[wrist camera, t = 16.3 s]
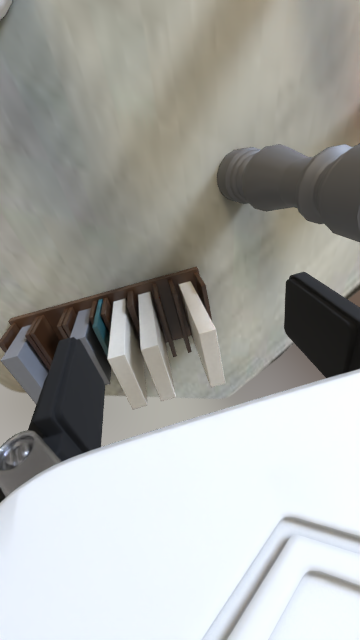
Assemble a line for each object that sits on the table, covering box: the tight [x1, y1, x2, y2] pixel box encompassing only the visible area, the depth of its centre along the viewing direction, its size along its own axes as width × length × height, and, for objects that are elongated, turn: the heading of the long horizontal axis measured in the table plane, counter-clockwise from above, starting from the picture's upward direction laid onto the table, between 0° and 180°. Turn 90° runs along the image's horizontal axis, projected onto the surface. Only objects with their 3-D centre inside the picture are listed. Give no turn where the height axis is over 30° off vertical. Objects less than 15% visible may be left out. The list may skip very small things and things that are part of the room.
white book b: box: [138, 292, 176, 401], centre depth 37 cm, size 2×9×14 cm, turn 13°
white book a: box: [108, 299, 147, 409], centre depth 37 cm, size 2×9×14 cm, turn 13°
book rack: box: [0, 267, 212, 370], centre depth 40 cm, size 30×12×9 cm, turn 103°
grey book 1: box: [1, 325, 49, 405], centre depth 39 cm, size 2×9×8 cm, turn 13°
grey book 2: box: [70, 308, 111, 385], centre depth 39 cm, size 2×9×8 cm, turn 13°
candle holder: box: [217, 144, 360, 242], centre depth 24 cm, size 6×6×25 cm
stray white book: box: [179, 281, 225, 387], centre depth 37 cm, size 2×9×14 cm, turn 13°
